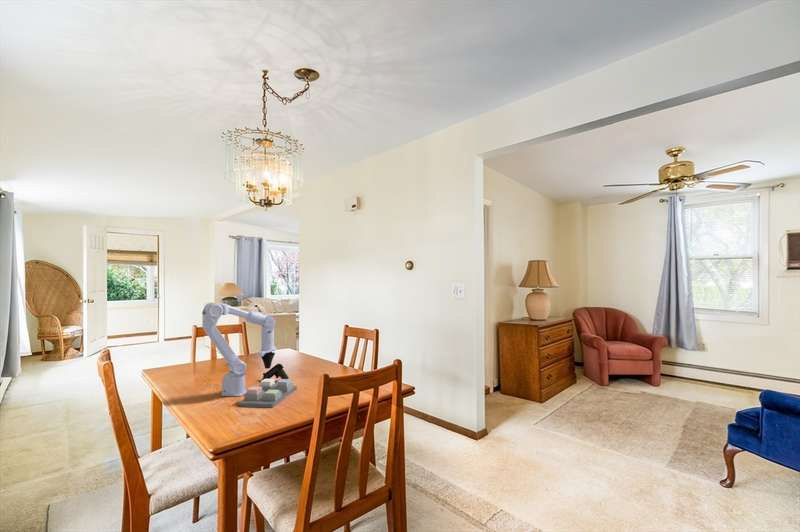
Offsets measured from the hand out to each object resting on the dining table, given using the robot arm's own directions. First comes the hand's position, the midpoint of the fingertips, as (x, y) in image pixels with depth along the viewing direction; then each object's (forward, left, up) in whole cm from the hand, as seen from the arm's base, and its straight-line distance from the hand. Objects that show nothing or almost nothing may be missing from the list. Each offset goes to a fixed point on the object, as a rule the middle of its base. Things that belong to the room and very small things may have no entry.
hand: (267, 368), depth 179 cm
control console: (+8, -13, -9) cm, 18 cm away
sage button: (+11, -19, -7) cm, 23 cm away
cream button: (+3, -7, -6) cm, 10 cm away
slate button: (+11, -7, -6) cm, 15 cm away
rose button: (+3, -19, -6) cm, 20 cm away
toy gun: (-2, +12, -10) cm, 16 cm away
